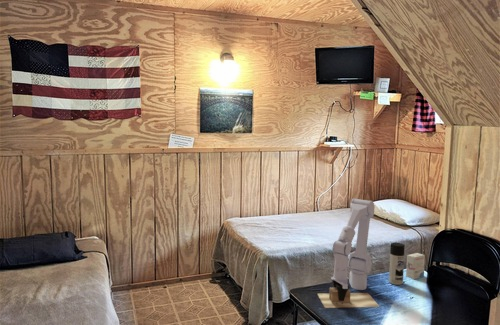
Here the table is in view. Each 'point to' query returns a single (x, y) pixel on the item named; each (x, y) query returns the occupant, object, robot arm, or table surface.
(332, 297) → the block
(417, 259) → the ink box
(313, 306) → the table surface
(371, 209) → the robot arm
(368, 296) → the board
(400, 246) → the spray can
